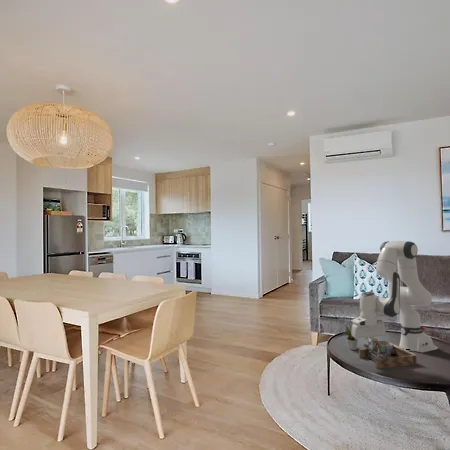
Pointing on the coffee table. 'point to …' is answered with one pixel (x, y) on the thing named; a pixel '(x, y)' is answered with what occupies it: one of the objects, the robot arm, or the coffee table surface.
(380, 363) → the tray
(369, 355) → the ram
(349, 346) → the house plant
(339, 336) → the coffee table surface
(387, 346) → the mug
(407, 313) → the robot arm
